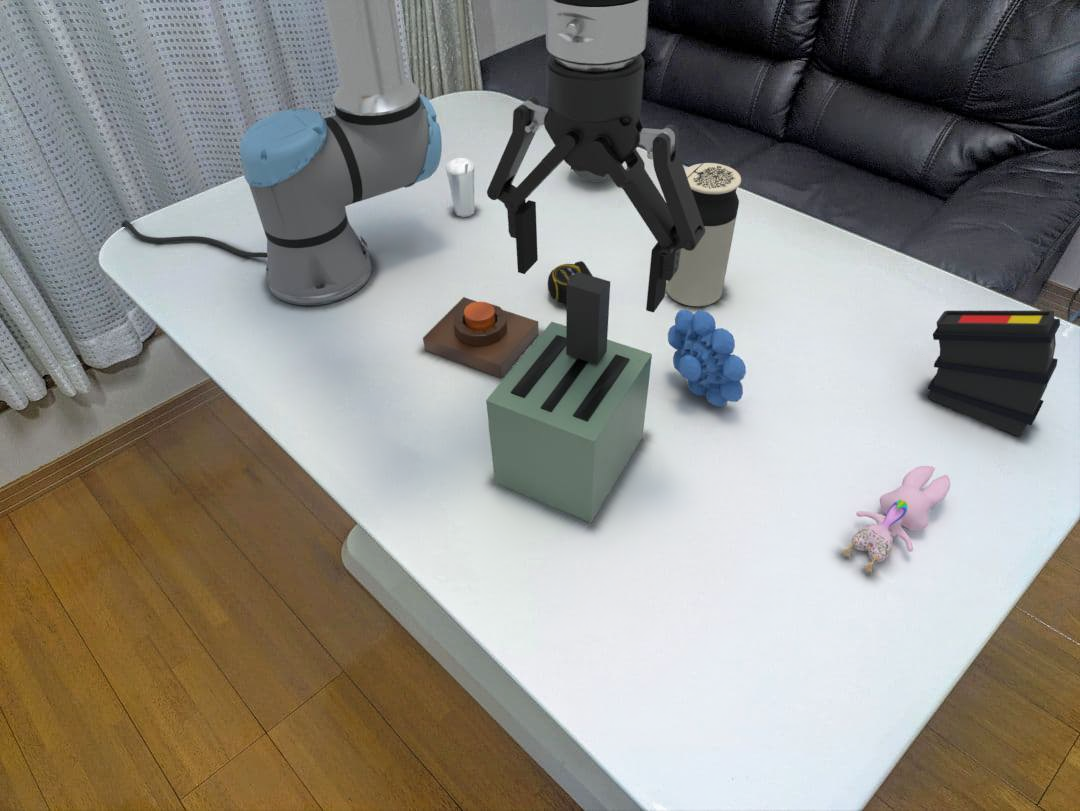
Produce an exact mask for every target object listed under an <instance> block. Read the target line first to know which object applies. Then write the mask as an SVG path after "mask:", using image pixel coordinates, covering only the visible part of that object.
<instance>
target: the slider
mask: <svg viewBox="0 0 1080 811" xmlns="http://www.w3.org/2000/svg"><path fill="white" fill-rule="evenodd" d="M610 295H611V281H610V280H607V279H604V278H600V277H597V276H593V275H592V276H590V275H586V274H583V273H580V272H577V273H576V274H575V275H574V276H573V278H572V279H571V280H570V281H569V282H568V283H567V304H566V305H565V306H566V307H565V308H566V311H565V312H566V314H565V315H566V316H565V318H566V319H565V320H566V325H565V326H566V354H567V355H569V356H572V357H575V358H578V359H581V360H584V361H587V362H590V363H593V364H596V365H597V364H598V363H599V361H600V360H601V359H602V357H603V356H604V355H605V353H606V352H607V339H608V333H609V314H610V298H611V296H610Z"/></svg>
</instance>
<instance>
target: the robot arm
mask: <svg viewBox="0 0 1080 811" xmlns="http://www.w3.org/2000/svg"><path fill="white" fill-rule="evenodd" d="M323 3H324V8H325V12H326V18H327V23H328V27H329V32H330V37H331V42H332V46H333V52H334V56H335V61H336V62H335V63H336V65H337V70H338V75H339V80H340V85H339V87H338V88H336V90H335V91H334V93H333V95H332V103H333V106H334V113H335V115H332V116H328V117H323V116H322V114H320V112H318V111H317V110H314V109H310V108H298V109H296V110H295V109H293V108H290V109H285V110H281V111H278V112H277V111H276V112H274V113H272V114H270V115H269V114H268V115H267V116H265V117H263V118H261V119H259V120H258V121H256V122H255V123H253V124H252V125H251V126H250V127H249V128H247V130H246V132H245V133H244V134H243V136H242V137H241V139H240V141H239V145H238V146H239V147H238V150H239V151H238V153H239V156H240V160H241V161H240V162H241V165H242V170H243V177H244V179H245V181H246V183H247V184H248V185H249V186H248V187H249V190H250V192H251V196H252V198H253V201H254V205H255V207H256V211H257V213H258V216H259V220H260V222H261V225H262V229H263V231H264V234H265V237H266V252H264V251H263V252H262V251H259V252H256V251H255V252H251V251H245V250H243V249H239V248H236V247H234V246H231V245H230V244H227V243H225V242H223V241H220V240H218V239H216V238H211V237H207V236H199V235H184V236H183V235H182V236H170V237H169V236H166V237H165V236H164V237H154V236H148V235H144V234H142V233H141V232H139V231H138V230H137V228H135V226H133V224H132V223H131V222H130V220H129V221H128V220H123V221H122V222H121V225H120V226H121V228H128V229H129V231H130V233H132V234H133V235H134V236H135V237H136V238H138V239H140V240H142V241H144V242H150V243H176V242H177V243H179V242H201V243H209V244H211V245H215V246H217V247H221V248H222V249H225V250H226V251H229V252H231V253H233V254H236V255H238V256H241V257H245V258H265V259H266V258H267V262H266V266H265V278H266V281H267V284H268V286H269V290H270V292H271V293H272V294H273V296H275V297H276V298H278V299H279V300H281V301H283V302H285V303H288V304H292V305H297V306H310V307H311V306H321V305H326V304H332V303H335V302H337V301H340V300H343V299H345V298H347V297H349V296H351V295H353V294H354V293H356V292H358V291H359V290H360V289H361V288H362V287H364V286H365V285H366V283H367V282H368V281H369V279H370V277H371V274H372V263H371V257H370V255H369V253H368V251H367V249H369V248H368V243H367V241H366V240H365V239H364V238H363V237H362V236H360V238H359V236H358V234H357V233H356V231H355V229H353V227H352V225H351V224H350V223H349V222H350V221H349V219H348V214H347V210H346V207H347V206H349V205H352V204H356V203H358V202H363V201H365V200H369V199H372V198H375V197H378V196H381V195H384V194H387V193H391V192H393V191H396V190H399V189H402V188H405V189H406V188H410V187H413V186H414V185H415V184H417V183H420V182H422V181H425V180H428V179H429V178H431V176H433V175H434V174H435V172H436V171H437V170H438V168H439V165H440V162H441V159H442V151H443V150H442V149H443V142H442V132H441V126H440V123H439V122H437V114H436V111H435V107H434V106H433V104H432V102H430V100H429V99H428V98H427V97H426V96H425V95H423V94H421V93H420V90H419V87H418V85H416V84H415V83H414V82H413V81H411V79H409V78H408V77H407V75H406V70H405V68H406V67H405V61H404V55H403V48H402V42H401V35H400V28H399V20H398V14H397V6H396V0H323ZM649 4H650V0H544V8H545V9H544V14H545V15H544V16H545V17H544V18H545V47H546V50H547V52H548V53H549V56H548V57H547V58H546V60H545V77H546V78H545V81H546V82H545V86H546V103H547V105H548V107H544V106H542V105H540V102H539V100H538V98H536V97H534V96H531V97H529V98H527V99H526V100H524V102H522V103H521V104H520V105H518V106H517V107H516V108H514V110H513V112H512V129H511V130H512V132H511V134H510V137H509V138H508V140H507V141H508V142H507V143H506V146H505V148H504V151H503V153H502V155H501V157H500V159H499V162H498V164H497V166H496V169H495V171H494V174H493V176H492V179H491V181H490V183H489V185H488V188H487V190H486V195H487V197H488V198H489V199H490V200H492V201H497V200H498V201H499V202H501V203H503V205H504V207H505V208H506V212H507V213H506V214H507V226H508V234H509V236H510V238H513V239H515V242H516V244H515V245H516V246H515V247H516V264H517V266H516V267H517V273H518V274H522V275H526V273H527V272H528V271H529V270H530V269H531V268H532V267H533V266H534V265H535V264H536V263H537V262H538V260H539V259H538V255H539V254H538V228H537V225H538V224H537V202H536V201H535V200H530V199H528V198H529V197H530V195H531V194H532V193H533V192H534V191H535V190H536V189H537V188H538V187H539V186H540V185H541V184H542V183H543V182H544V181H545V180H546V179H547V178H548V177H549V175H551V174H552V173H553V172H554V171H555V170H556V169H557V168H558V166H560V164H561V163H562V162H563V161H564V162H565V163H566V164H567V165H568V166H570V170H571V171H573V170H576V171H589V172H590V173H592V174H594V175H597V176H601V177H605V176H606V175H608V174H609V175H610V177H611V178H610V179H611V180H612V182H613V183H614V184H615V186H616V187H617V188H620V189H622V190H623V192H624V194H625V195H626V196H627V198H628V199H629V201H630V202H631V204H632V205H633V207H634V208H635V210H636V212H637V213H638V215H639V216H640V218H641V219H642V220H643V223H644V224H645V225H646V226H647V228H648V230H649V231H650V233H651V234H652V236H653V237H654V239H655V241H656V244H655V245H654V246H653V248H652V249H651V252H650V264H649V273H648V274H649V275H648V284H647V286H648V287H647V296H646V307H645V311H647V312H650V313H655V311H656V310H657V309H658V307H659V306H660V305H661V303H662V302H663V300H664V298H665V297H666V291H667V289H666V286H667V280H668V281H670V280H671V279H672V277H673V276H674V274H675V273H676V272H677V270H678V267H679V259H680V252H681V249H682V248H684V249H685V250H688V251H691V250H693V249H694V248H695V247H696V246H697V244H698V243H699V241H700V240H701V239H702V237H703V236H704V234H705V227H704V225H703V222H702V219H701V216H700V213H699V210H698V207H697V204H696V202H695V199H694V196H693V193H692V190H691V187H690V184H689V181H688V179H687V176H686V173H685V167H684V165H683V162H682V159H681V156H680V153H679V150H680V149H679V148H680V145H679V141H680V140H679V139H680V138H679V137H680V136H679V135H680V134H679V133H680V132H679V129H678V127H677V126H676V125H675V124H671V123H670V124H667V125H665V127H664V128H663V129H660V128H648V127H644V124H643V122H642V118H641V111H642V104H643V103H642V102H643V93H644V92H643V91H644V79H645V78H644V76H645V58H644V57H643V55H642V53H643V52H644V51H645V50H646V48H647V39H648V38H647V35H648V21H649ZM542 127H544V129H545V131H546V132H547V134H548V136H549V138H550V140H551V141H552V143H553V144H554V146H553V147H552V149H550V150H549V152H548V153H546V155H545V156H544V157H542V159H541V161H540V162H538V164H537V165H536V166H535V167H534V168H533V169H532V170H531V171H530V172H529V174H528V175H527V176H526V177H525V178H524V179H523V180H522V181H521V182H520V183H519V184H518V185H517V186H515V185H513V183H514V181H515V178H516V177H517V174H518V171H519V169H520V167H521V166H522V163H523V161H524V159H525V156H526V155H527V152H528V150H529V149H530V146H531V143H532V141H533V139H534V138H535V135H536V133H537V132H538V131H539V130H540V129H542ZM639 146H642V147H643V148H644V149H645V151H646V153H647V156H646V157H647V159H649V160H652V163H653V169H654V172H655V176H656V178H657V181H658V184H659V187H660V190H661V192H662V194H661V192H660V191H659V189H658V187H657V186H656V185H655V182H653V180H652V178H651V176H650V175H649V173H648V172H647V170H646V167H645V166H646V165H645V161H644V159H643V158H642V157H641V154H640V153H639V152H638V150H637V149H638V148H639ZM624 163H625V164H626V168H625V167H624V166H623V164H624ZM662 195H663V196H662ZM526 199H528V200H526Z"/></svg>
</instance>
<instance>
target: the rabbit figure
mask: <svg viewBox="0 0 1080 811" xmlns="http://www.w3.org/2000/svg"><path fill="white" fill-rule="evenodd" d="M935 470H936V467H934V466H931V465H919V466H917V467H915V468H912V469H911V470H910V471H908V472H907V473H906V474H905V475H904V477H902V478H903V479H902V482H901V486H899V487H898V488H896V489H894V490H892V491H889V492H887V493H884V494H882V495H880V497H879V506H880V509H881V511H882V512H883V513H884V514H885V515H882V514H880V513H876V512H872V511H864V510H863V511H862V510H858V511H856V516H857V517H858V518H859V517H860V518H863V517H867V518H870V519H872V520H873V521H875V523H872V524H871V523H870V524H868V525H865V526H863V527H862V528H860V529H859V530H858V531H857V532H856V533H855V535H854V536H853V537H852V542H851V544H849V546H848V547H847V548H846V549H844V550H843V551H842V552H841V554H842V553H843V554H844V555H843V556H844V557H846V556H848V557H849V558H851V550H852V548H853V547H854V549H856V550H858V551H865V552H867V553H868V557H869V559H870V560H871V562H870V563H868V564H867V565H864V566H862V569H864V568H865V569H866V573H868V572H870V573H869V574H870V575H871V574H872V572H873V568H872V567H873V565H874V563H882V562H884V561H885V560H887V559H888V557H889V555H890V554H891V552H892V549H893V544H894V537H899V538H901V539H902V541H904V543H905V545H906V549H907V551H908V552H913V551H914V546H913V543H912V541H911V538H910V537H909V535H908V534H907V532H906V531H905V530H904V529H903V527H904V528H906V529H908V530H911V531H922V530H925V529H927V528H928V526H929V525H928V523H929V517H930V512H931V508H932V507H934V506H937V505H938V504H940V503H941V502H942V501H943V500H945V498H946V497H947V494H948V493H949V491H950V488H951V480H950V477H949V475H947V474H943V475H941V476H939V477H936V478H935V479H933V480H932V481H931V482H930V483H929V484H928V485H927V486H926V487H925V485H926V484H927V483H928V481H929V480H930V479H931V477H932V476H933V474H934V472H935ZM923 487H925V488H924V489H923ZM922 489H923V490H922Z"/></svg>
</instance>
